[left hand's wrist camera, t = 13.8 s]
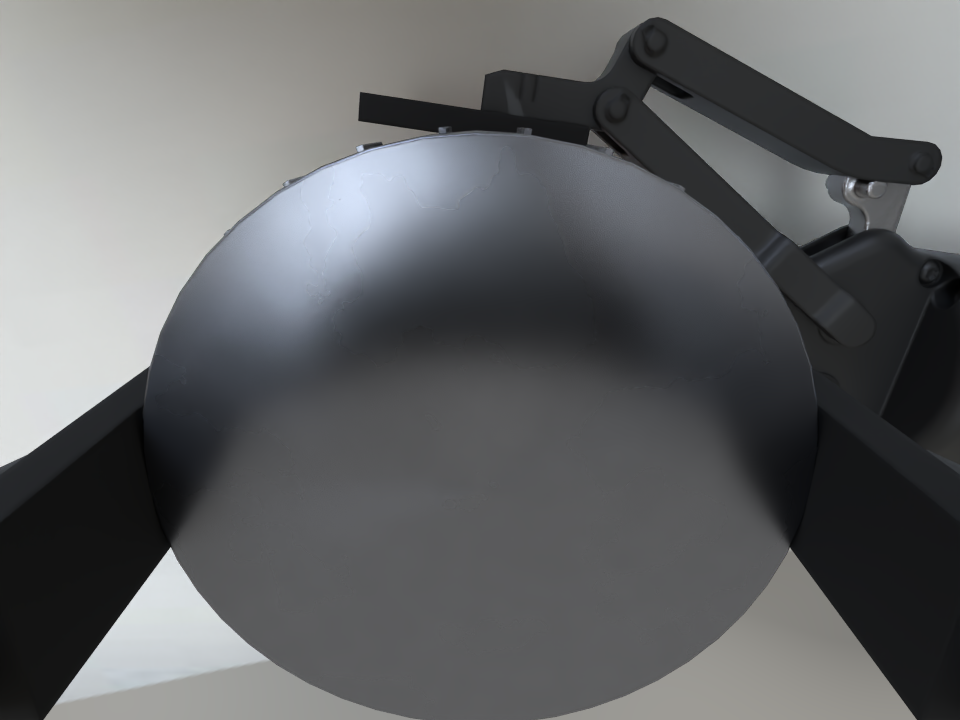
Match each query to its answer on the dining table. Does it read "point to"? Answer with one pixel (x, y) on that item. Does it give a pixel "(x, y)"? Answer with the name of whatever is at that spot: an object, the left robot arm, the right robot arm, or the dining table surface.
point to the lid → (480, 427)
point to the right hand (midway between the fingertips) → (355, 285)
